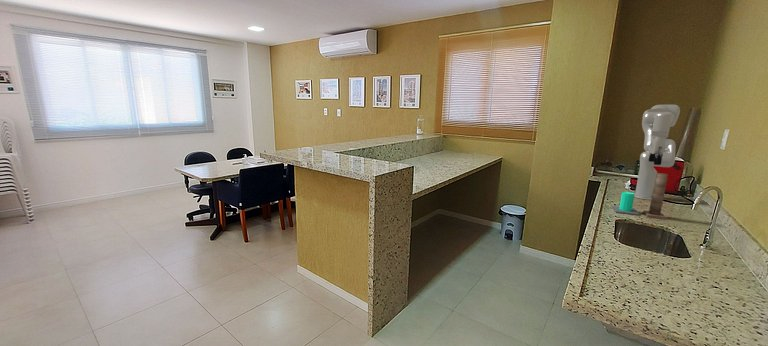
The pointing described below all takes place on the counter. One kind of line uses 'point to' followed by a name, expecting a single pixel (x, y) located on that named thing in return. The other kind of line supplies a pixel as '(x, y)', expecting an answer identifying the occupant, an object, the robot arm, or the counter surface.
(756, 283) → the counter surface
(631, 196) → the candle
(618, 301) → the counter surface
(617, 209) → the mat
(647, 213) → the post
